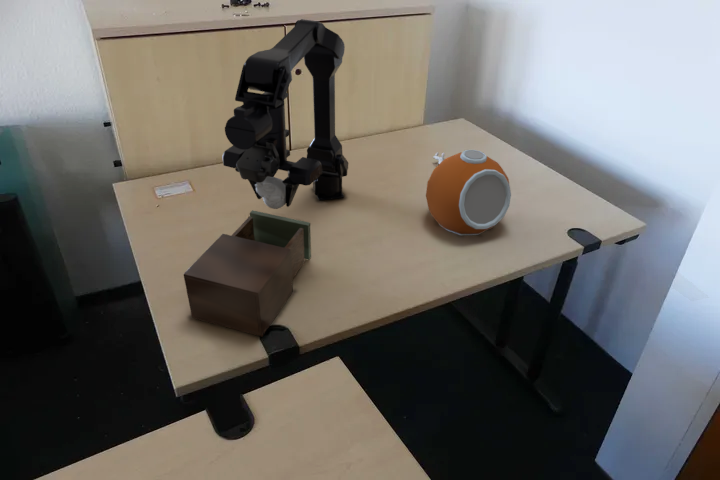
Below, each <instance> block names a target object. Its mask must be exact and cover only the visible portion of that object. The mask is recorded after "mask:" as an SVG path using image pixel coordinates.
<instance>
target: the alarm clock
mask: <svg viewBox="0 0 720 480" xmlns="http://www.w3.org/2000/svg"><path fill="white" fill-rule="evenodd" d="M511 197H512V192H511V186H510V179H509V177H508V176H507V173H506V172H505V171H504V169H503V167H502V166H501V165H500V163H499V162H498V161H496V160H494V159H493V158H491V157H490V156H487V155H486V153H484V152H483V151H480V150H478V149H477V150H476V149H466V150H463V151H462V152H458V153H455V154H453V155H451V156H447V157H446V158H444V160H443V161H442V162H441V163H440V164H439V163H438V165H437V166H436V167H434V169H433V170H432V172H431V174H430V177H429V178H428V180H427V182H426V191H425V198H426V203H427V208H428V211H429V213H430V214H431V216H432V217H433V219H434V220H435V221H436V223H437V224H438V225H439V226H440V227H442V228H443V229H444V230H446V231H447V232H450V233H453V234H455V235H458V236H478V235H481V234H482V233H484V232H486V231H488V230H490V229H493V228H494V227H495V226H497V224H498V223H499V222H500V221H502V219H503V218H504V217H505V216H506V214H507V212H508V210H509V208H510V204H511Z"/></svg>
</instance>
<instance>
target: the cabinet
mask: <svg viewBox="0 0 720 480" xmlns="http://www.w3.org/2000/svg"><path fill="white" fill-rule="evenodd" d="M231 235H232V234H231ZM231 235H230V234H225V233H222V234H221V235H219V236H218V237H217V238H216V239H215V241H214V242H213V243H212V244H211V245H210V246H209V247H208V248H207V249H206V250H205V251H203V253H202V254H201V255H200V257H198V258H197V259H196V260H195V261H194V262H193V264H192V265H190V266H189V267H188V268H187V270H186V271H185V272H184V273H183V279H184V285H185V289H186V295H187V300H188V305H189V310H190V315H191V318H192V319H195V320H200V321H203V322H205V323H206V322H207V323H210V324H213V325H217V326H221V327H225V328H229V329H232V330H236V331H239V332H243V333H247V334H249V335H254V336H257V337H261V338H262V337H264V335H265V334H266V332H267V331H268V329H269V328H270V326H271V325H272V323H274V320H275V319H276V317H277V316H278V314H279V313H280V311H281V310H282V308H283V307H284V306H285V304H286V303H287V301H288V300H289V298H290V297H291V295H292V294H293V292H294V286H293V279H292V262H291V249H288V248H283V247H279V246H275V245H270V244H266V243H261V242H257V241H253V240H248V239H244V238H240V237H235V236H231Z"/></svg>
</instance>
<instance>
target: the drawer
mask: <svg viewBox="0 0 720 480" xmlns="http://www.w3.org/2000/svg"><path fill="white" fill-rule="evenodd" d="M311 233H312V232H311V222H310V221H304V220H300V219H295V218H292V217H291V218H290V217H286V216H281V215H277V214H271V213H267V212H262V211H258V210H254V209H252V210H250V212H249V216H248V217H247V218H245V220H244V221H243V222H242V223H241V225H239V227H237V229H236V230H235V231H234V232H233V233H232V234H231V236H235V237H240V238H244V239H248V240H253V241H257V242H261V243H266V244H270V245H275V246H279V247H283V248H288V249H291V262H292V280H293V279H294V278H295V276H296V275H297V274H298V272H299V270H300V269H301V267H302V266H303V265H304V264H305V260H307V261H309V260H310V258H312V241H311V240H312V238H311V235H312V234H311Z"/></svg>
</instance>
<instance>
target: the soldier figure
mask: <svg viewBox="0 0 720 480" xmlns="http://www.w3.org/2000/svg"><path fill="white" fill-rule="evenodd" d="M439 154H440V153H439V152H438V151H437V152H435V154H434V155H433V156H432V159H435V160H436V161H437V163H438V165H439V164H440V163H441V162H442V161H443V160H444V159H445V152H441V156H439Z"/></svg>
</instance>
